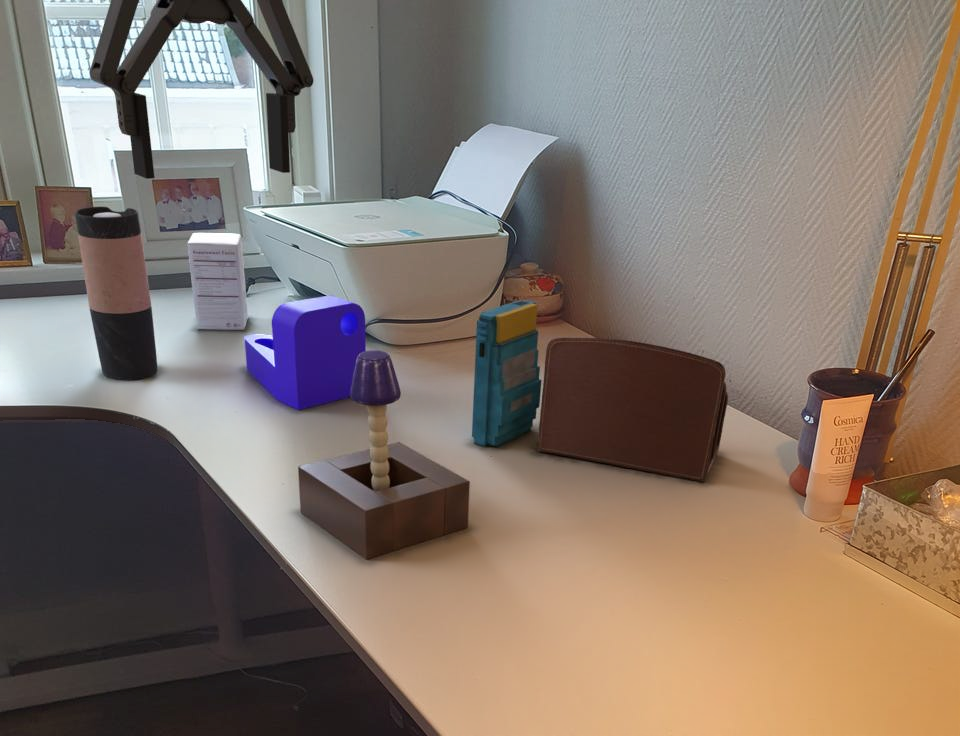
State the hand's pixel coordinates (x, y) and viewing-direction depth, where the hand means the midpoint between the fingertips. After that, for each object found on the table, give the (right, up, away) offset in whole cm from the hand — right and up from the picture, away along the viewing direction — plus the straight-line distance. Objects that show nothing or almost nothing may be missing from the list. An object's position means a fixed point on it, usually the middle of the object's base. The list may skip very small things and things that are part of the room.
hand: (214, 173), depth 93 cm
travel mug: (-22, -8, +40) cm, 46 cm away
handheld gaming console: (+28, -19, +27) cm, 43 cm away
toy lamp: (+15, -32, +6) cm, 36 cm away
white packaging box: (-15, +5, +61) cm, 63 cm away
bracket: (0, -10, +39) cm, 40 cm away
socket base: (+15, -32, +6) cm, 36 cm away
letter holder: (+42, -22, +24) cm, 53 cm away
